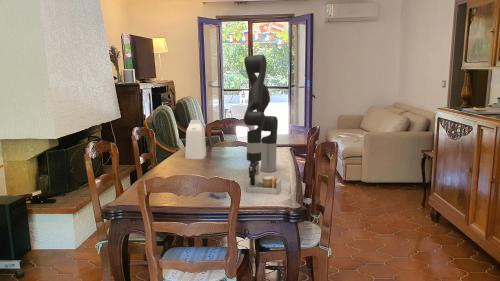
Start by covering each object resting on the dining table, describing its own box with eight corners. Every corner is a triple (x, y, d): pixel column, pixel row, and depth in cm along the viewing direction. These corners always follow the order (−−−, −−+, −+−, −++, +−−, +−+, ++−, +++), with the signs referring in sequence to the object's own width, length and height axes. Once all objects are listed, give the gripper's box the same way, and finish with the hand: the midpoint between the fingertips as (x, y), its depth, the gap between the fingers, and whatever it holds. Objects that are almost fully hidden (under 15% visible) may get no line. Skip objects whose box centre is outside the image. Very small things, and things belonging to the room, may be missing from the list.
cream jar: (249, 183, 206) (250, 170, 205) (259, 184, 205) (259, 171, 204) (247, 186, 201) (247, 172, 200) (257, 187, 200) (257, 173, 199)
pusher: (274, 187, 205) (274, 176, 204) (276, 187, 205) (276, 176, 204) (271, 192, 197) (272, 180, 196) (273, 192, 197) (274, 180, 196)
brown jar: (262, 188, 205) (263, 175, 204) (272, 189, 204) (273, 175, 203) (261, 191, 200) (261, 177, 199) (271, 192, 199) (272, 178, 198)
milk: (206, 155, 283) (205, 119, 278) (202, 159, 272) (202, 121, 267) (189, 155, 284) (188, 118, 280) (185, 158, 273) (184, 120, 268)
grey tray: (251, 185, 209) (251, 174, 208) (281, 188, 206) (281, 176, 205) (246, 192, 199) (246, 180, 198) (277, 194, 195) (278, 182, 194)
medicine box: (209, 195, 193) (209, 177, 192) (216, 193, 196) (216, 176, 195) (219, 199, 188) (219, 181, 186) (226, 196, 191) (226, 179, 189)
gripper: (249, 148, 208) (249, 179, 211) (243, 153, 194) (243, 187, 197) (264, 148, 206) (263, 180, 209) (258, 154, 192) (258, 188, 195)
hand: (253, 183), depth 203 cm, fingers closed on cream jar, 5 cm apart
